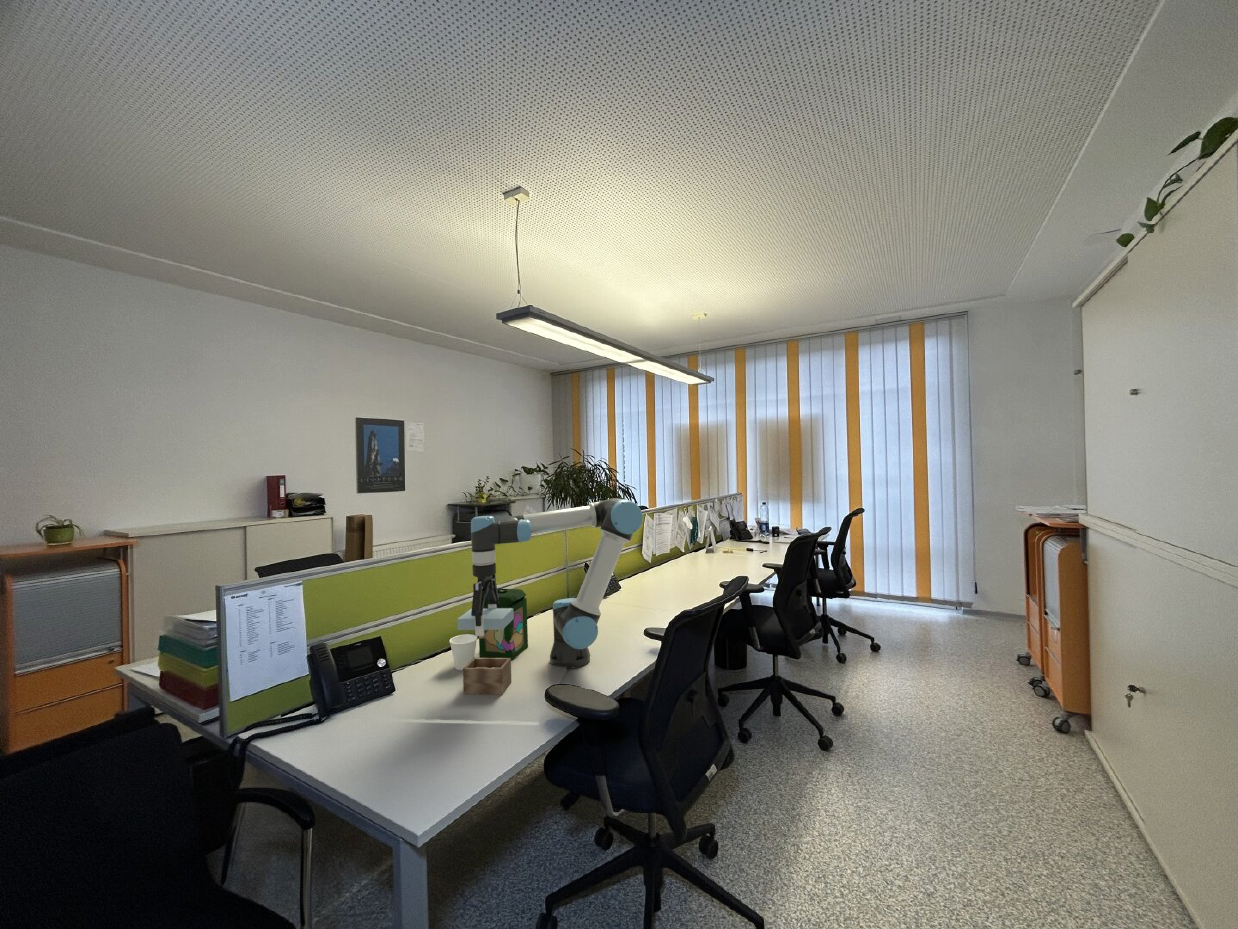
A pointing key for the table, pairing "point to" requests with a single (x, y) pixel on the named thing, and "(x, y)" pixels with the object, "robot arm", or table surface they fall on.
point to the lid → (487, 619)
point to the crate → (487, 676)
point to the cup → (463, 649)
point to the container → (507, 628)
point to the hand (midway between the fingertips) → (486, 629)
